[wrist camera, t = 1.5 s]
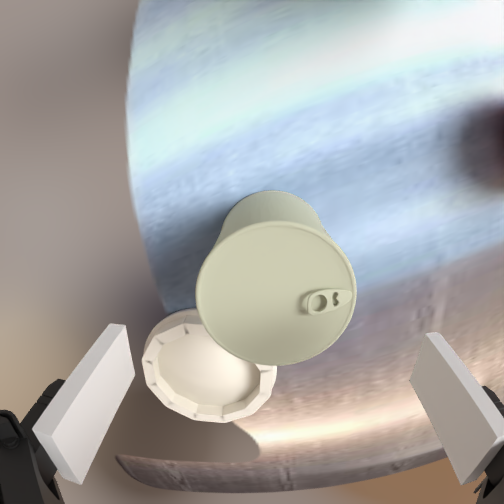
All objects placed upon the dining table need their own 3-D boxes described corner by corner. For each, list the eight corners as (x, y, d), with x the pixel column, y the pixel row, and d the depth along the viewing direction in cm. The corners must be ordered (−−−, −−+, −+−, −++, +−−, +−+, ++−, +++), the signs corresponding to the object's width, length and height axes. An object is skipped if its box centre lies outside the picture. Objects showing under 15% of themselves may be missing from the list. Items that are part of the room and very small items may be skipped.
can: (325, 285, 30) (355, 363, 18) (227, 293, 30) (207, 375, 19) (321, 186, 27) (361, 215, 16) (214, 195, 28) (178, 231, 16)
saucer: (137, 302, 31) (129, 313, 29) (281, 311, 31) (282, 323, 28) (155, 403, 36) (150, 416, 33) (272, 413, 35) (272, 427, 33)
